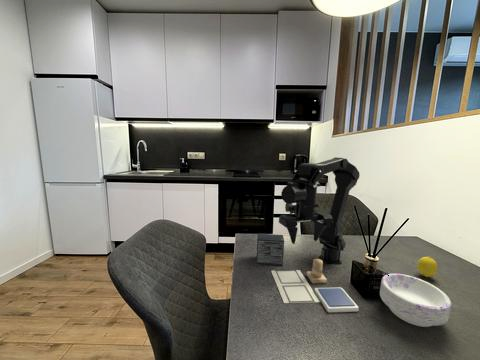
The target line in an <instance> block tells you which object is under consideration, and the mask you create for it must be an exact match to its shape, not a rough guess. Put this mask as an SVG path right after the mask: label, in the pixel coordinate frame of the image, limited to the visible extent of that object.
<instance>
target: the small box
mask: <svg viewBox="0 0 480 360" xmlns="http://www.w3.org/2000/svg"><path fill="white" fill-rule="evenodd" d="M284 249H285V238H284V235H283V234H274V233H257V238H256V261H255V262H256V264H258V265H268V266H269V265H270V266H281V267H283V266H284V253H285V251H284Z"/></svg>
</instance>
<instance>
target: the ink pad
mask: <svg viewBox="0 0 480 360" xmlns="http://www.w3.org/2000/svg"><path fill="white" fill-rule="evenodd" d="M314 293H315V295H316V296H317V298H318V299H319V301H320V303H321V304H322V305H323V307H324V308H325V310H326V312H328V313H347V312H348V313H350V312H353V313H354V312H359V309H360V307H359V306H358V305H357V303H355V301H354V300H353V299H352V298H351V297H350V296H349V295H350V294H348V293H347V291H345V289H343V288H342V287H339V286H338V287H315V288H314Z"/></svg>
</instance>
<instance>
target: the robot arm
mask: <svg viewBox="0 0 480 360" xmlns="http://www.w3.org/2000/svg"><path fill="white" fill-rule="evenodd" d="M329 173H333V175H334V176H335V177H334V182H335V186H336V189H335V192H334V197H333V200H332V205H331V209H330V212H329V213H327V212H325V211H316V208H319V204H318V203H317V194H318V192H317V191H318V187H321V186H322V185H321V183H320V182H319V181H321V180H322V179H323V178H324V175H326V174H329ZM360 175H361V174H360V171H359V169H358V168H357V166H355V165H354V164H352V163H351V162H349V160H348V159H347V158H345V157H336V156H335V157H333V158H330V159H327V160H325V161H321V162H317V163H315V162H314V163H312V162H310V163H309V162H307V163H306V162H305V163H304V162H303V163H300V164H299V165H298V168H297V169H296V171H295V173H294V175H293V177H292V179H291V180H290V181H288V182H286V186H284V187H283V189H282V190H281V194H280V195H281V199H282V200H283V202H284V203H285V205H284V206H285V207H284V209H285V212H286V213H288V214H281V215H280V216H279V218H278V223H279V224H280V225H281V226H283V227H284V228H286V229H287V232H288V235H289V237H290V241H291V243H292V245H295V243H296V239H297V234H298V228H299V227H297V226H298V223H307V222H312V223H313V225H314V229H313V241H314V242H317V241H318V240H319V244H322V248H321V252H320V255H319V256H320V258H321V260H322V261H324V263H326V264H329V265H334V264H335V265H336V264H337V265H338V264H342V263H343V261H341V260H340V259H341V253H342V252H343V251H344V250H345V248H346V244H347V243H346V241H345V240H344V238H343V234H344V231H343V228H342V221H343V216H344V213H345V209H346V206H347V203H348V202H347V201H348V198H349V195H350V191H351V190H352V189H353V188H354V187H355V186H356V185H357V183H358V180H359V179H360ZM293 215H294V216H293Z"/></svg>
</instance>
